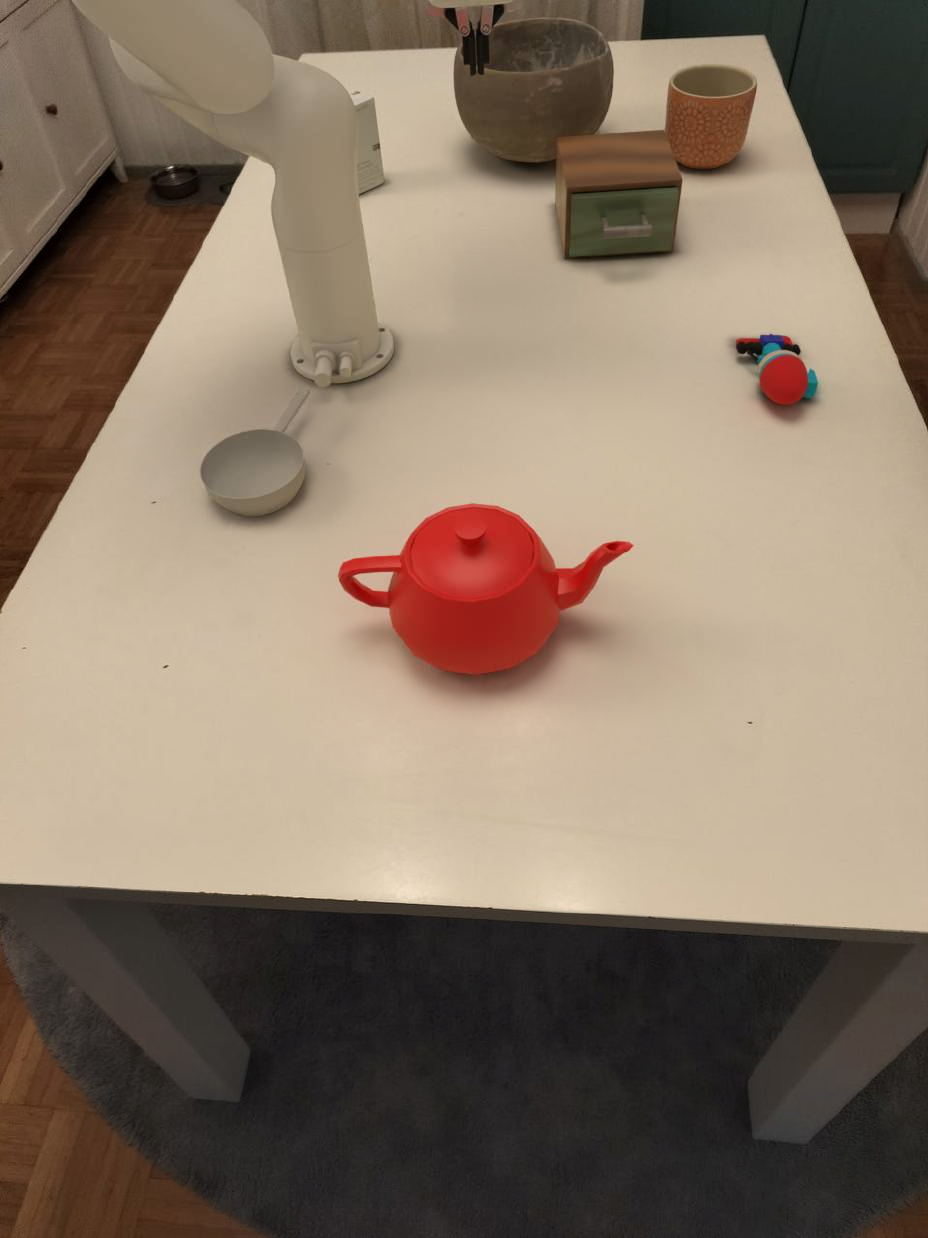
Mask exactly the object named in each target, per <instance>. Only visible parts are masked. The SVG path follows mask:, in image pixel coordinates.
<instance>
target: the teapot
mask: <svg viewBox="0 0 928 1238" xmlns="http://www.w3.org/2000/svg"><path fill="white" fill-rule="evenodd" d="M633 547H634V544H633V543H631V542H630V541H626V540H625V541H624V540H614V541H609V542H605V543H602V544H601V545H599V546H598V547H597V548H596V549H594V550H592V551H591V552H590V553H589V554H588V556H587V557H586V559H584V560H583V561H582V562H580V563H579V564H578V565H576V566H574V567H569V568H567V567H562V568H561V567H560V568H559V567H558V568H556V564H555V560H554V558H553V556H552V555H551V553H550V551H549V550H548V548H547V546H546V545H545V542H544V541H543V539H542V538H541V537H540V536H539V535H538V533H537V532H536V530H535V529H533V528H532V526H531V525H529V523H528V522H526V520H524V518H523V517H521V516H520V515H519V514H517V513H515V512H513V511H510V510H508V509H506V508H504V507H502V506H499V505H493V504H482V503H466V504H460V505H455V506H449V507H446V508H443V509H442V510H441V509H440V510H439V511H438V512H435V513H433V514H431V515H430V516H427V517H425V518H424V519H423V520H422V522H421V523H420V524H418V525H417V526H416V528H415V529H414V530H413V531H412V532H411V533H410V535H409V536H408V538H407V540H406V542H405V543H404V545H403V547H402V549H401V551H400V553H399V554H395V555H394V554H391V555H374V556H372V555H371V556H363V557H355V558H351V559H349V560H345V561H343V562H342V563H341V565H340V567H339V569H338V570H339V571H338V574H337V578H338V582H339V583H340V585H341V587H342V589H343V591H344V592H346V593H347V594H348V595H350V596H351V598H353V599H355V601H358V602H361V603H363V604H364V605H367V606H369V607H371V608H372V607H373V608H384V609H389V610H388V612H389V618H390V622H391V627H392V629H393V630H394V631H395V633H396V634H397V636H398V638H400V640H401V641H402V642H403V644H404V645H405V646H406V647H407V649H408V650H409V651H410V652H411V654H412V655H413V656H414V657H416V658H417V659H420V660H421V661H423V662H425V663H427V664H429V665H430V666H432V667H435V668H436V669H438V670H440V671H446V672H452V673H460V674H465V675H475V676H478V675H483V674H487V673H492V672H499V671H502V670H503V671H504V670H510V669H512V668H514V667H516V666H518V665H519V664H521V663H523V662H524V661H526V660H528V659H529V658H531V657H533V656H535V655H536V654H538V653H539V652H540V651H541V650H542V648H543V646H544V645H545V644H546V642H547V640H549V638H550V637H551V635H552V634H553V632H554V631H555V630H556V628H557V627H558V625H559V623H560V612H561V611H564V610H567V609H570V608H573V607H575V606H578V605H581V604H583V602H584V601H585V600H586V598H587V597H588V596H589V594H590V593H591V592H592V591H593V589H594V588H595V586H596V584H597V582H598V580H599V578H600V576H601V574H602V572H603V570H604V568H605V567H607V566H608V565H610V564H611V563H613V562H614V561H615V560H616V559H617V558H619V557H621V556H623V554H625V553H628V552H630V551H631V550H632V548H633ZM375 573H392V575H391V578H390V581H389V584H388V589H387V590H386V591H385V590H374V589H372V588H369V587H368V586H366V585H365V584H363V583H361V582H360V581H359V580H358V579H357V578H356V577H355V576H358V575H362V574H363V575H364V574H375Z"/></svg>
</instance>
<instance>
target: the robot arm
mask: <svg viewBox="0 0 928 1238" xmlns="http://www.w3.org/2000/svg"><path fill="white" fill-rule="evenodd" d="M71 2H72V3H73V5H74V6H75V7H76V8H77V9H78V10H79V12H80V13H81V14H82V15H83V16H85V18H86V19H87V20H88V21H89V22H90V23H92V24H93V25H94V26H95V27H96V28H97V29H98V30H99V31H101V32H102V33H103V34H104V35H106V36H107V37H108V42H109V45H110V48H111V51H112V55H113V57H114V58H115V60H116V62H117V65H118V66H119V67H120V69H121V70H122V72H123V74H124V75H125V76H126V78H128V79H129V80H130V82H131V83H132V84H133V85H134V86H135V87H137V88H138V90H140V91H141V92H142V93H144V94H145V95H147V96H148V97H150V98H151V99H153V100H154V101H156V102H157V103H158V104H159V105H161V106H163V107H164V108H166V109H167V110H169V111H171V112H172V113H173V114H174V115H176V116H178V117H179V118H181V119H182V120H183V121H185V122H187V123H188V124H189V125H191V126H193V128H195V129H197V130H199V131H200V132H202V133H203V134H204V135H206V136H207V137H209V138H210V139H213V140H214V141H215V142H217V143H219V144H221V145H223V146H225V147H227V148H229V149H231V150H233V151H236V152H238V153H241V154H244V155H246V156H249V157H251V158H254V159H257V160H259V161H261V162H263V163H265V164H268V165H269V166H271V168H272V169H273V171H274V176H275V177H274V179H275V181H274V188H273V192H272V196H271V203H270V213H271V221H272V226H273V231H274V235H275V239H276V242H277V247H278V251H279V256H280V260H281V263H282V268H283V272H284V277H285V281H286V286H287V290H288V294H289V298H290V302H291V307H292V311H293V316H294V321H295V324H296V328H297V333H298V335H297V336H296V337H295V339H294V340H293V341H292V343H291V346H290V350H289V354H290V359H291V363H292V366H293V368H294V369H295V371H296V372H297V373H298V374H300V375H302V376H303V377H305V378H307V379H309V380H311V381H314V383H315V384H316V386H317V387H320V388H327V387H329V386H330V385H331V384H345V383H351V382H356V381H361V380H363V379H365V378H368V377H370V376H372V375H375V374H376V373H377V372H379V371H380V370H382V369H383V368H384V367H385V366H386V365H387V364H388V363H389V362H390V360H391V359H392V357H393V355H394V352H395V343H394V336H393V334H392V332H391V331H390V329H389V328H388V327H387V326H385V325H384V324H382V323H381V322H379V321H378V316H377V315H378V314H377V309H376V301H375V296H374V289H373V283H372V276H371V268H370V263H369V262H370V261H369V256H368V249H367V243H366V235H365V229H364V222H363V217H362V209H361V203H360V194H359V193H358V182H357V144H358V120H357V113H356V109H355V106H354V103H353V100H352V98H351V96H350V95H349V94H350V93H349V91H348V90H347V89H346V87H345V86H344V84H342V83H341V82H340V81H339V79H337V78H336V77H334V76H333V75H332V74H330V73H329V72H327V71H325V70H324V69H321V68H320V67H317V66H315V65H312V64H310V63H306V62H303V61H299V60H296V59H293V58H291V57H290V58H289V57H286V56H282V55H277V54H274V53H273V50H272V47H271V45H270V42H269V40H268V38H267V36H266V34H265V32H264V30H263V29H262V27H261V25H260V24H259V23H258V22H257V20H256V19H255V18H254V17H253V16H252V15H251V13H250V12H249V11H248V10H247V9H245V8H244V7H243V6H242V5H241V4H240V3H239V2H237V0H71ZM523 6H524V0H425V13H426V14H427V16H431V17H436V18H440V19H446V20H447V21H448V22H449V23H450V24H451V25H452V26H453V27H454V28H455V29H456V30H457V31H458V32H459V34H460V35H461V38H462V39H461V42H462V41H463V61H464V65H470V76H474V75H475V74H476V52H475V32H476V49H477V69H478V74H480V75H484V64H488V63H490V59H489V33H490V32H491V29H492V28H493V26H494V25H496V24H498V21H500V20H501V18H502V17H503V15H505V14H510V13H512V12H514V11H517V10H520V9H522V7H523ZM468 7H480V12H479V13H480V15H479V20H478V22H477V23H476V28H473V27H474V26H473V23H472V21H471V20H470V16H469V11H468Z"/></svg>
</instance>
